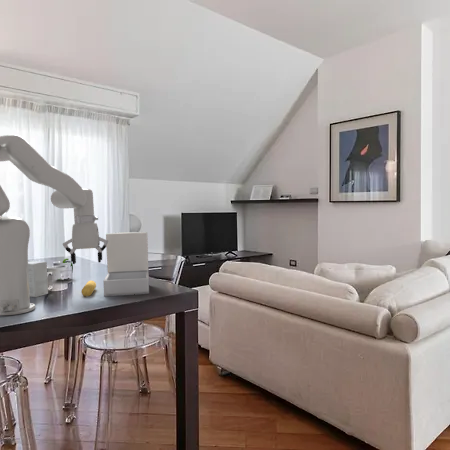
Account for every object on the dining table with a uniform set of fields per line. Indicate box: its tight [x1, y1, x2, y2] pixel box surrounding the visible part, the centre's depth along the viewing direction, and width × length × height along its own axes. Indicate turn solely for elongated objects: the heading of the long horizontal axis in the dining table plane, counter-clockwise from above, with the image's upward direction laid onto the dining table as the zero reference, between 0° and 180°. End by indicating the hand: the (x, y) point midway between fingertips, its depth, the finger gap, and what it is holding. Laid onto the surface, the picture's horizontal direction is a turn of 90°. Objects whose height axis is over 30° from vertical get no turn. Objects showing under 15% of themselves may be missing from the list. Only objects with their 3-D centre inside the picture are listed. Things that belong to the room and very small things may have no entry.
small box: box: [28, 260, 49, 298], centre depth 154 cm, size 8×6×13 cm
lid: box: [105, 231, 149, 274], centre depth 167 cm, size 18×17×2 cm
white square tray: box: [103, 270, 150, 297], centre depth 159 cm, size 17×17×6 cm
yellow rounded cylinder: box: [80, 280, 97, 297], centre depth 156 cm, size 12×4×4 cm, turn 11°
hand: (87, 262), depth 156 cm, fingers open, 9 cm apart
